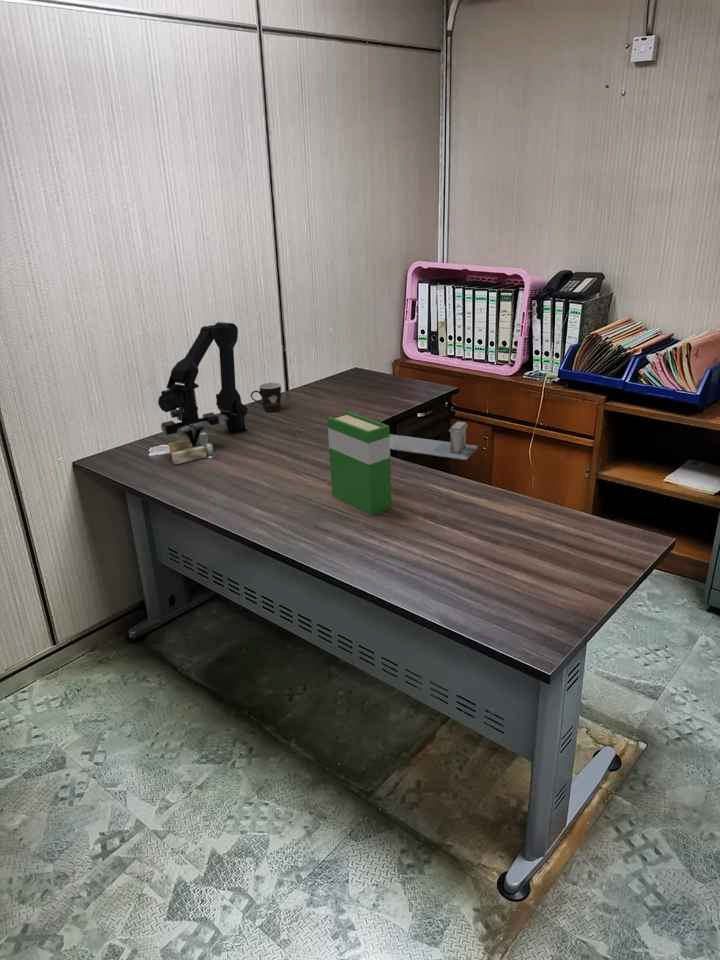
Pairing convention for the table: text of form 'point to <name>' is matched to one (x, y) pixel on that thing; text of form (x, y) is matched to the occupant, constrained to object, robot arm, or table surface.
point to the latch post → (203, 438)
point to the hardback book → (360, 462)
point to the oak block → (179, 446)
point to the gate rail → (189, 455)
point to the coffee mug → (270, 396)
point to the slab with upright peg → (437, 444)
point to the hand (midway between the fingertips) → (193, 446)
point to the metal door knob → (209, 451)
